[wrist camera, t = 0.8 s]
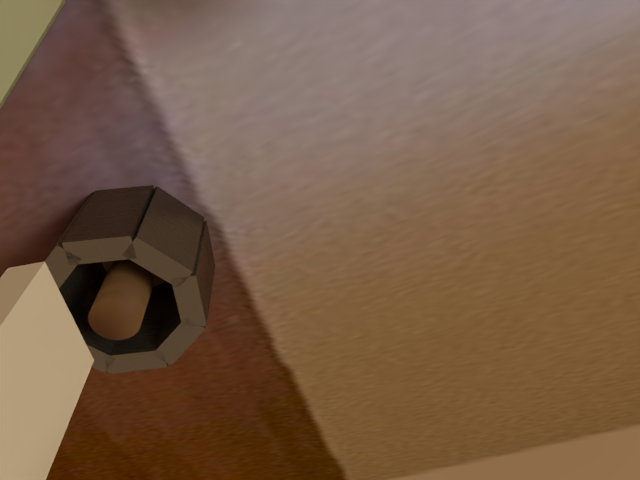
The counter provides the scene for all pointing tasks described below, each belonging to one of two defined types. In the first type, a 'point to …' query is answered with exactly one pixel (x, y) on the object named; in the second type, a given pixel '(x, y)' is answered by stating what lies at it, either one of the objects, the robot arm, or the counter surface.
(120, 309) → the tan peg with base
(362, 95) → the counter surface
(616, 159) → the counter surface
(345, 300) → the counter surface
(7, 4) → the sage mat
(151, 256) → the grey hollow octagonal ring
